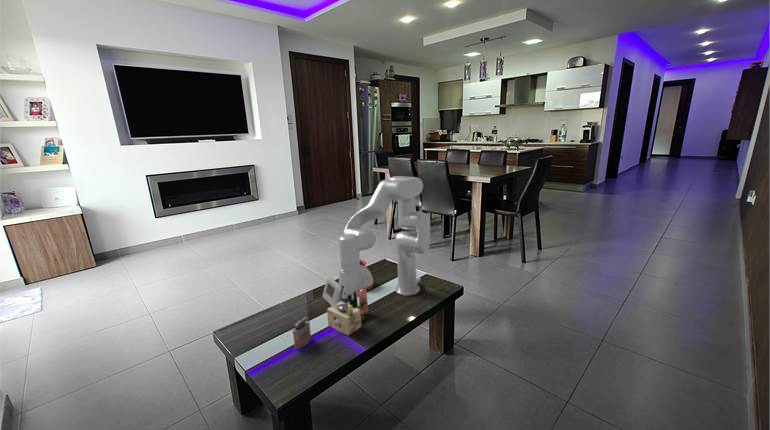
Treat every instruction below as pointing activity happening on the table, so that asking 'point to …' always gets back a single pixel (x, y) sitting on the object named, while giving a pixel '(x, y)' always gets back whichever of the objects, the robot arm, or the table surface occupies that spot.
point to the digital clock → (332, 292)
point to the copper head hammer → (362, 304)
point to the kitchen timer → (366, 276)
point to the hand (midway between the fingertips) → (353, 306)
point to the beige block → (344, 319)
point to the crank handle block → (346, 308)
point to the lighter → (301, 333)
